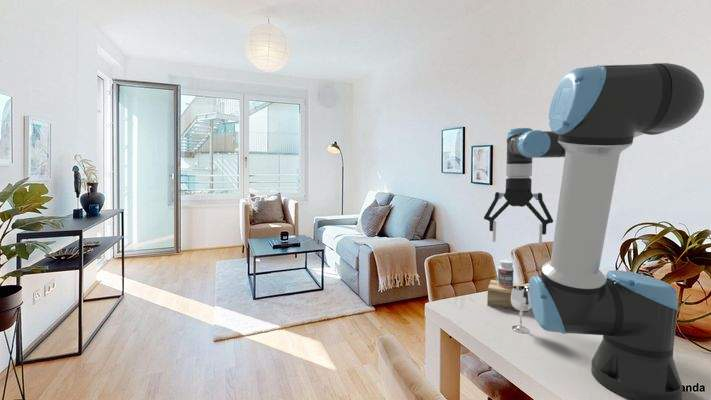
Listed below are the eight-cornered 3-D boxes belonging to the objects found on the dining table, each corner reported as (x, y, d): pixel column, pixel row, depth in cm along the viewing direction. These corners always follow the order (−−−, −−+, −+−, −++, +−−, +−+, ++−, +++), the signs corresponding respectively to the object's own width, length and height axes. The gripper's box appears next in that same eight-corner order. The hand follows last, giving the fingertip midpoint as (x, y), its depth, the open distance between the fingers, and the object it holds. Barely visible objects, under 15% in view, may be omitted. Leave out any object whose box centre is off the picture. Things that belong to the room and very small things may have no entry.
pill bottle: (498, 287, 117) (499, 262, 116) (497, 282, 121) (497, 259, 121) (513, 288, 115) (514, 263, 115) (512, 284, 120) (512, 260, 119)
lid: (528, 296, 111) (528, 293, 111) (487, 290, 116) (487, 287, 116) (528, 286, 120) (528, 284, 120) (491, 281, 125) (491, 279, 125)
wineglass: (505, 328, 100) (507, 288, 99) (515, 322, 104) (516, 283, 102) (526, 336, 96) (527, 293, 94) (535, 329, 99) (537, 288, 98)
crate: (527, 311, 111) (528, 296, 111) (487, 305, 117) (487, 290, 116) (527, 301, 120) (528, 286, 120) (490, 295, 126) (491, 281, 125)
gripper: (562, 177, 111) (559, 243, 112) (479, 177, 121) (477, 237, 123) (564, 177, 104) (561, 248, 106) (476, 177, 115) (474, 241, 116)
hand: (516, 242), depth 114 cm, fingers open, 13 cm apart
